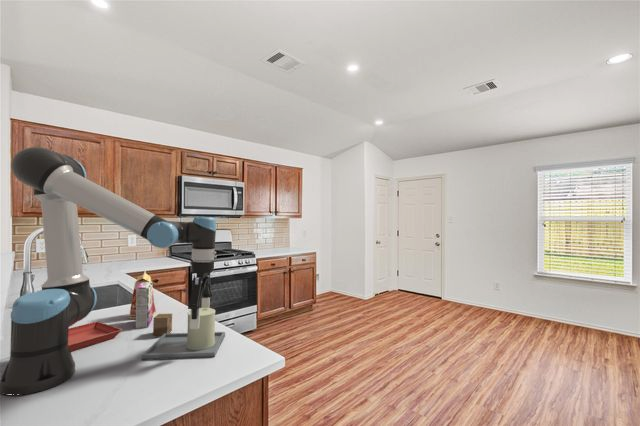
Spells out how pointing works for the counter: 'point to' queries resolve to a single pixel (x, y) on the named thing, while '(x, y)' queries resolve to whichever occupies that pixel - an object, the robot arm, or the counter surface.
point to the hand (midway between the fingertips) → (200, 321)
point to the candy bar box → (143, 305)
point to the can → (202, 331)
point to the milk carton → (140, 279)
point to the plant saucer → (90, 334)
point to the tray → (180, 347)
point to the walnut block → (162, 324)
